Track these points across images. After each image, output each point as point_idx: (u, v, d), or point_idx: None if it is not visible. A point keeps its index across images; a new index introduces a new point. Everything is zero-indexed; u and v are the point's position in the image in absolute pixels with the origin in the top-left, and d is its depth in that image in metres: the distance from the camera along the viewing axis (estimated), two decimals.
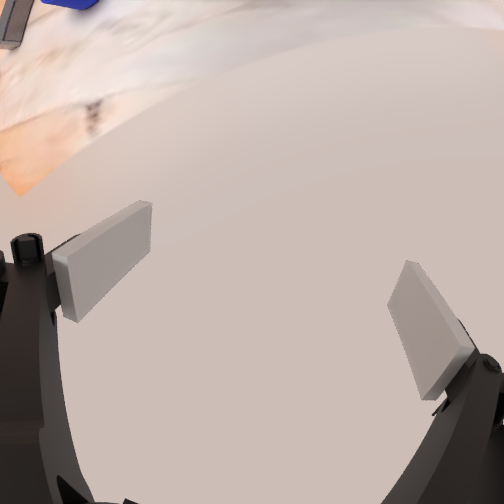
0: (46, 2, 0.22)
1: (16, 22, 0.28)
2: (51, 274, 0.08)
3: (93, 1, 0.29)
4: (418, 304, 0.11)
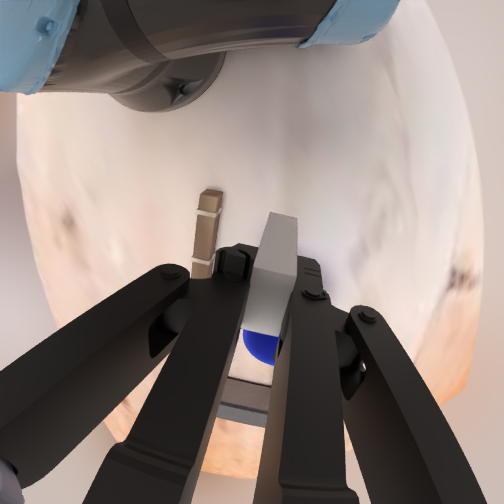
0: None
1: (266, 399, 0.43)
2: (249, 288, 0.10)
3: None
4: None
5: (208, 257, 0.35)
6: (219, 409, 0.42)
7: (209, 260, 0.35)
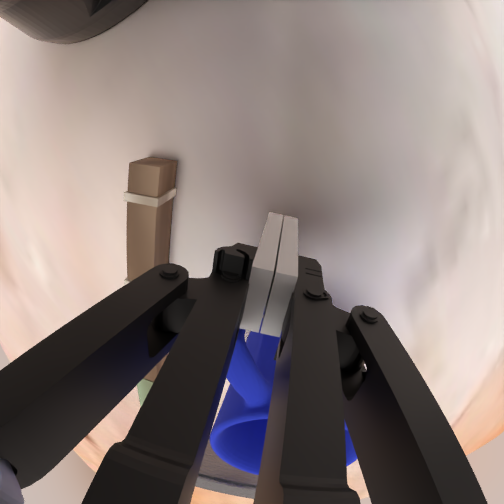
0: None
1: None
2: (248, 288, 0.10)
3: None
4: None
5: None
6: None
7: None
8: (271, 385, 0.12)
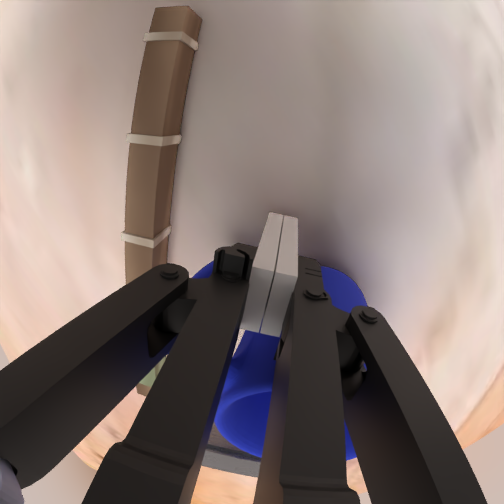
0: None
1: None
2: (248, 288, 0.10)
3: (341, 274, 0.17)
4: None
5: (161, 129, 0.14)
6: None
7: (163, 136, 0.14)
8: (236, 361, 0.11)
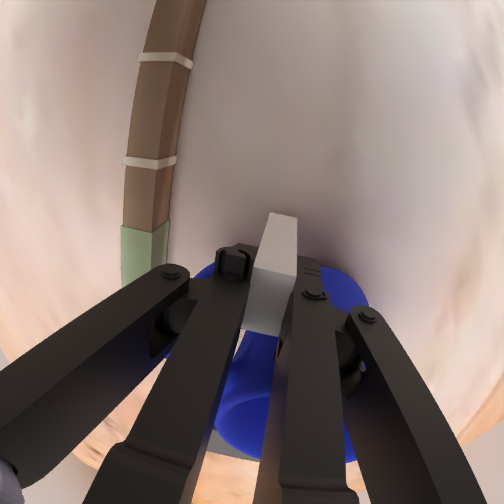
0: None
1: None
2: (249, 288, 0.10)
3: (341, 275, 0.16)
4: None
5: (175, 46, 0.12)
6: None
7: (176, 53, 0.12)
8: (235, 365, 0.11)
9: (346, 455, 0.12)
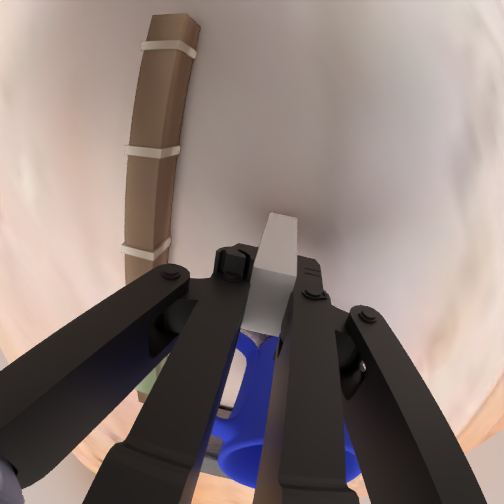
0: None
1: None
2: (249, 288, 0.10)
3: None
4: None
5: (160, 141, 0.14)
6: None
7: (162, 148, 0.14)
8: (233, 421, 0.13)
9: None
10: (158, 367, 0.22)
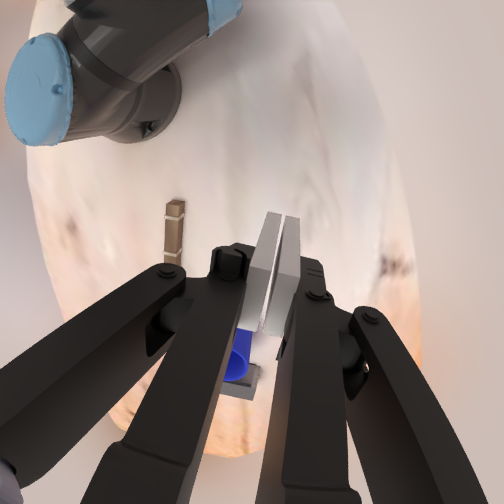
0: (246, 363, 0.43)
1: None
2: (246, 287, 0.10)
3: None
4: (279, 249, 0.13)
5: (175, 251, 0.45)
6: None
7: (176, 253, 0.45)
8: None
9: (239, 375, 0.44)
10: None
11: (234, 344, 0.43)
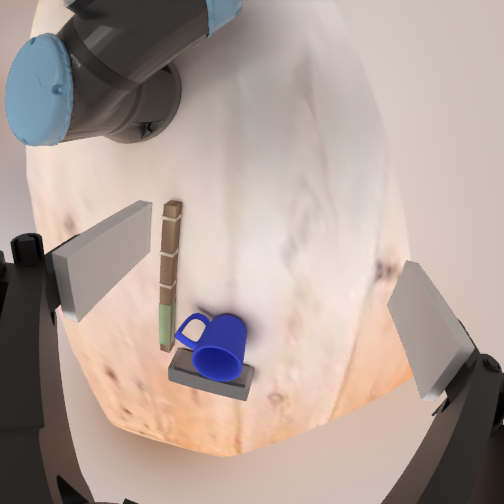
0: (240, 364, 0.43)
1: None
2: (51, 274, 0.08)
3: (233, 318, 0.50)
4: (418, 304, 0.11)
5: (172, 251, 0.45)
6: (186, 377, 0.52)
7: (172, 253, 0.45)
8: (196, 342, 0.44)
9: (233, 376, 0.45)
10: (171, 331, 0.53)
11: (228, 345, 0.43)
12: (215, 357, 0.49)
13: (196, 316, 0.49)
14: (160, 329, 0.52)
